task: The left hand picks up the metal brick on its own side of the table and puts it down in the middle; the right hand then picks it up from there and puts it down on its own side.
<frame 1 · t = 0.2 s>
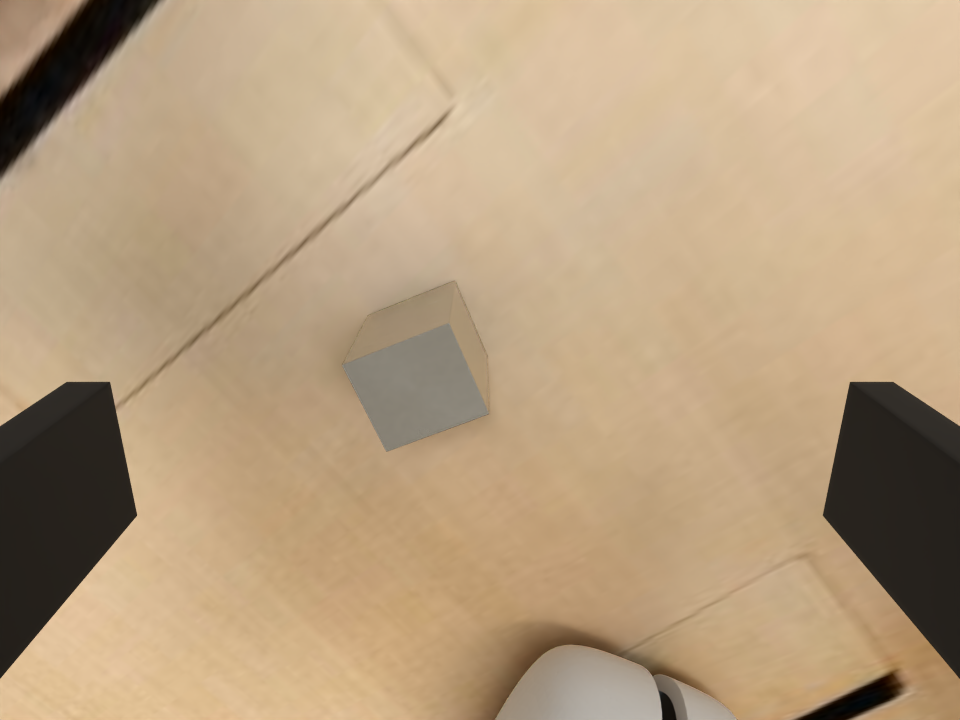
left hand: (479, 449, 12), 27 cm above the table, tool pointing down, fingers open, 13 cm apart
brick: (428, 336, 41), on the table
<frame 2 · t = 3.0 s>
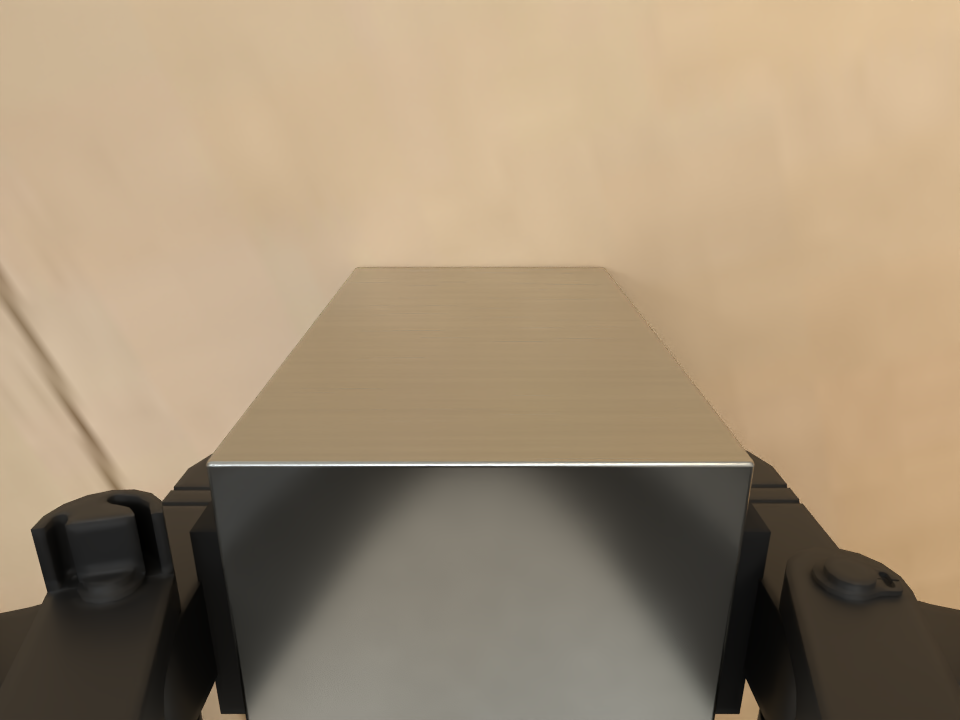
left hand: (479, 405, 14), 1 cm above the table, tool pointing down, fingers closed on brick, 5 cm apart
brick: (480, 393, 15), on the table, touching left hand
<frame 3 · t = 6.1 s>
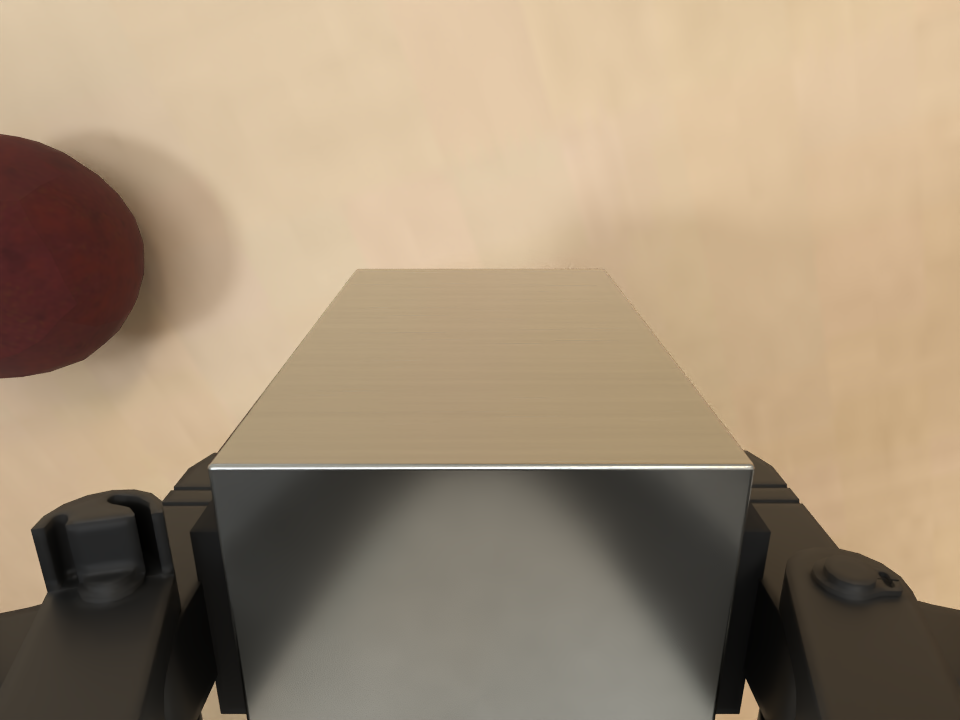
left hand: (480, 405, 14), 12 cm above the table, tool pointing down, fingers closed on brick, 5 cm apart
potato: (72, 237, 25), on the table
brick: (480, 394, 15), point 11 cm above the table, touching left hand
when the left hand's fingers open (3 cm above the table, at t = 9.5 s): brick drops 2 cm, on the table.
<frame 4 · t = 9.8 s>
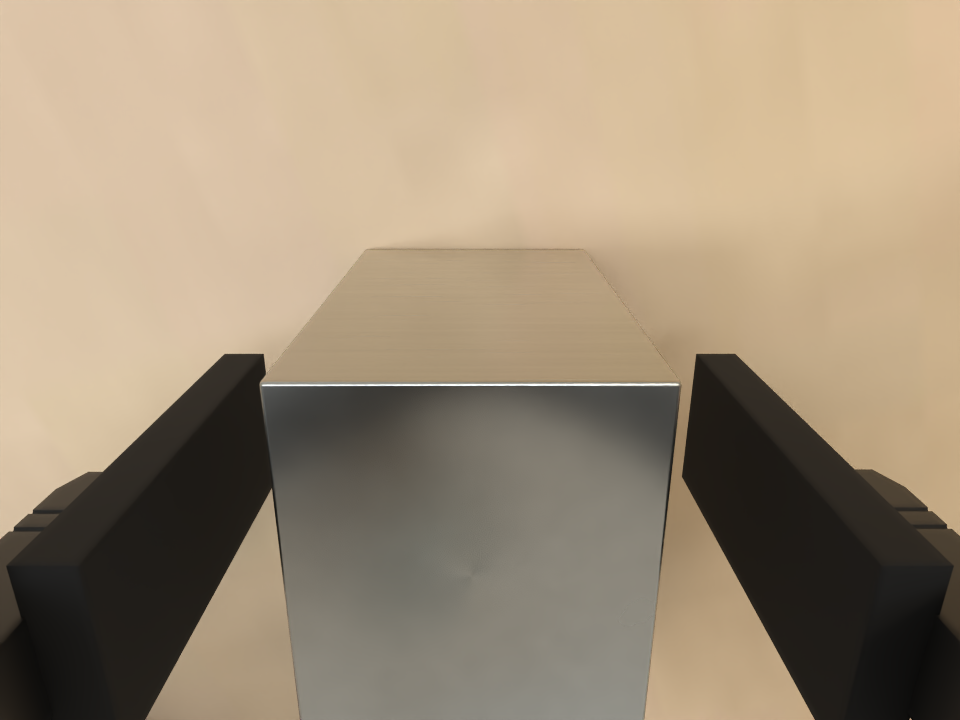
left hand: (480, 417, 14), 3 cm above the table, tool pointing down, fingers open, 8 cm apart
brick: (475, 362, 17), on the table
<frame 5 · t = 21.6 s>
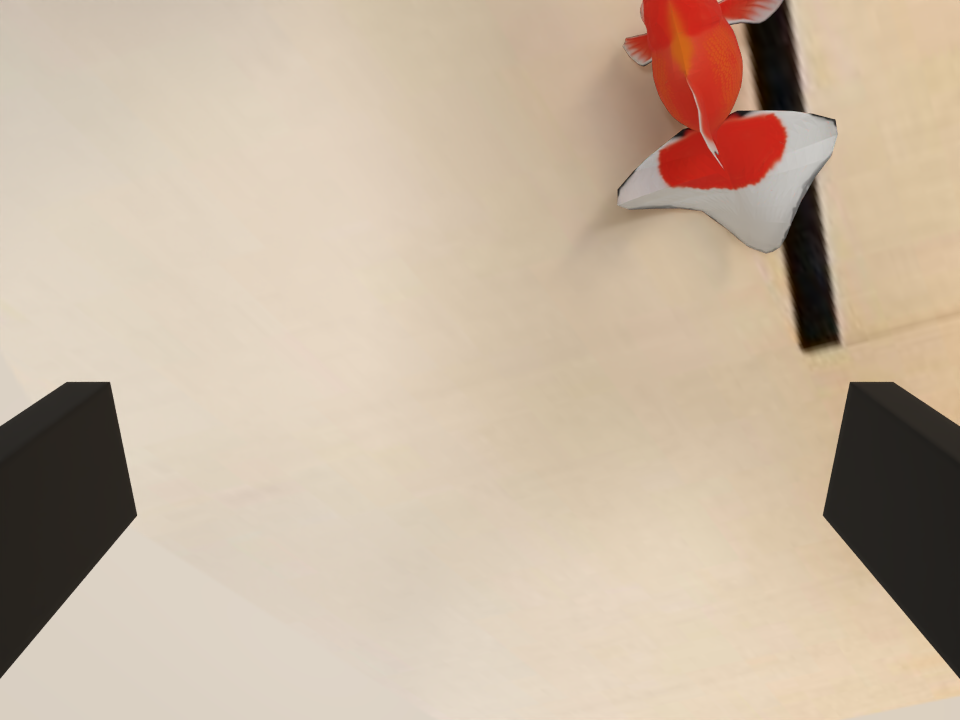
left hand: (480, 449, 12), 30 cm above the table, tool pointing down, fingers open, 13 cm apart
fish: (697, 123, 39), on the table
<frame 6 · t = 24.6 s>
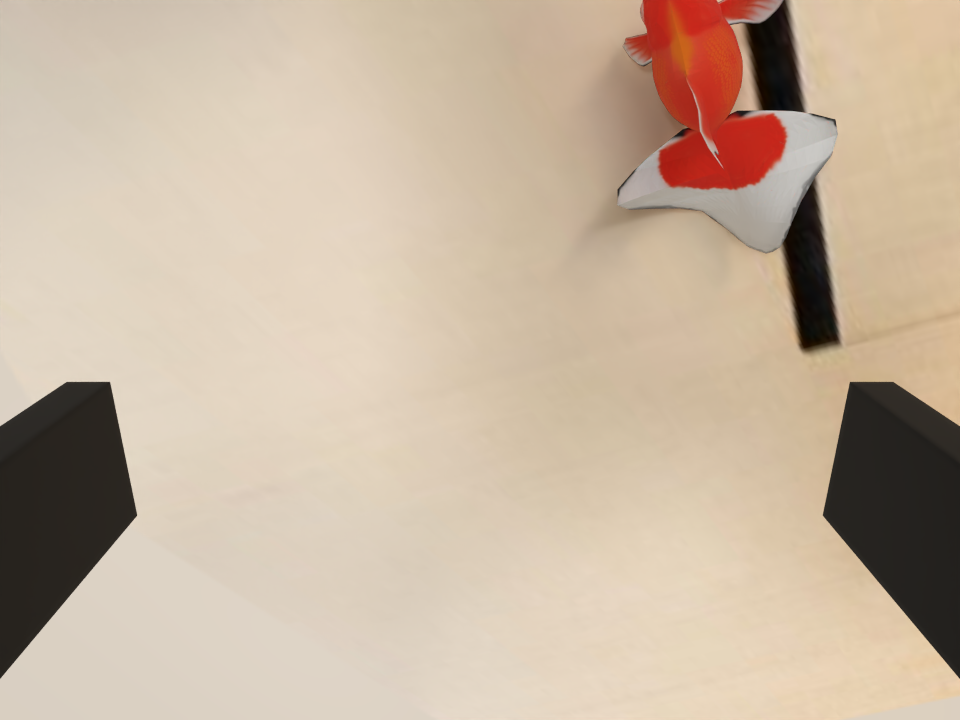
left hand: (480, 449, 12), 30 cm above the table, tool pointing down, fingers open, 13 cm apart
fish: (697, 123, 39), on the table
when the right hand's fingers open (3 cm above the table, at t = 27.4 s): brick drops 2 cm, on the table.
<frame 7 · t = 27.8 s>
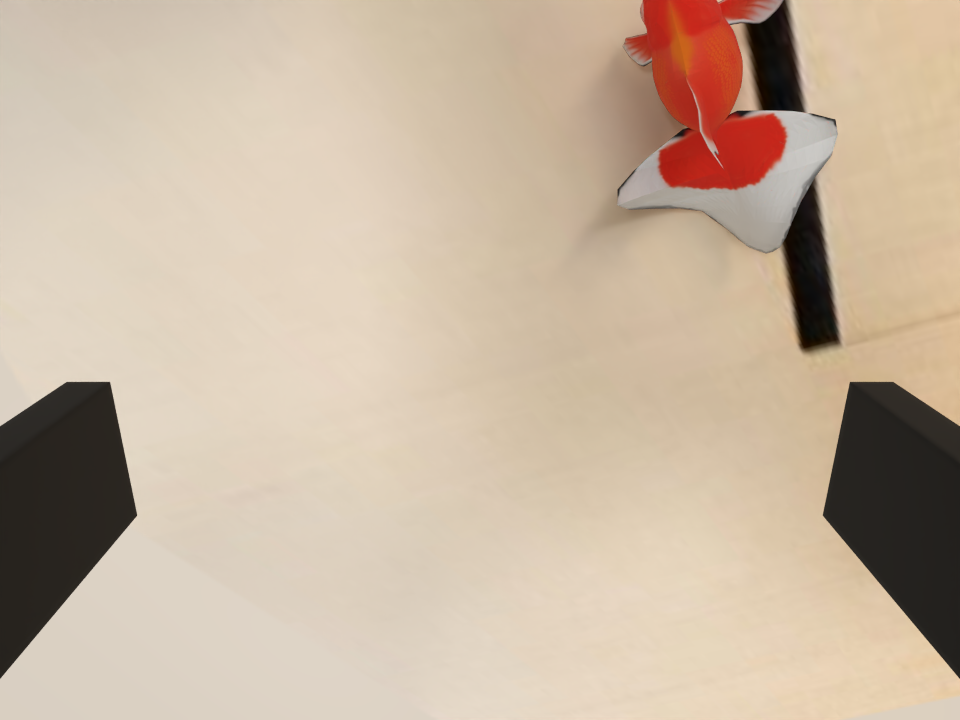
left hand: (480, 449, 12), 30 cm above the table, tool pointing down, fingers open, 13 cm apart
fish: (697, 123, 39), on the table
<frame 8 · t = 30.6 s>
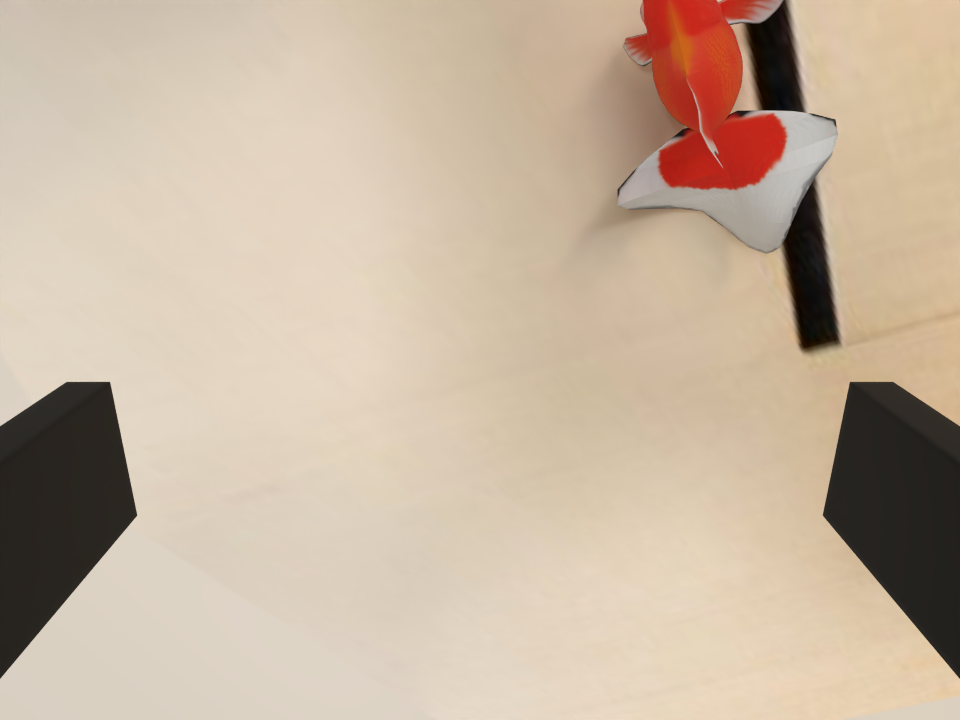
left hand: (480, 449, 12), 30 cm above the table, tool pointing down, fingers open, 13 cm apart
fish: (697, 123, 39), on the table
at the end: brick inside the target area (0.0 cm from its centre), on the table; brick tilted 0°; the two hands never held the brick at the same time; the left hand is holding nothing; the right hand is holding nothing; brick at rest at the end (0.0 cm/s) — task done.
